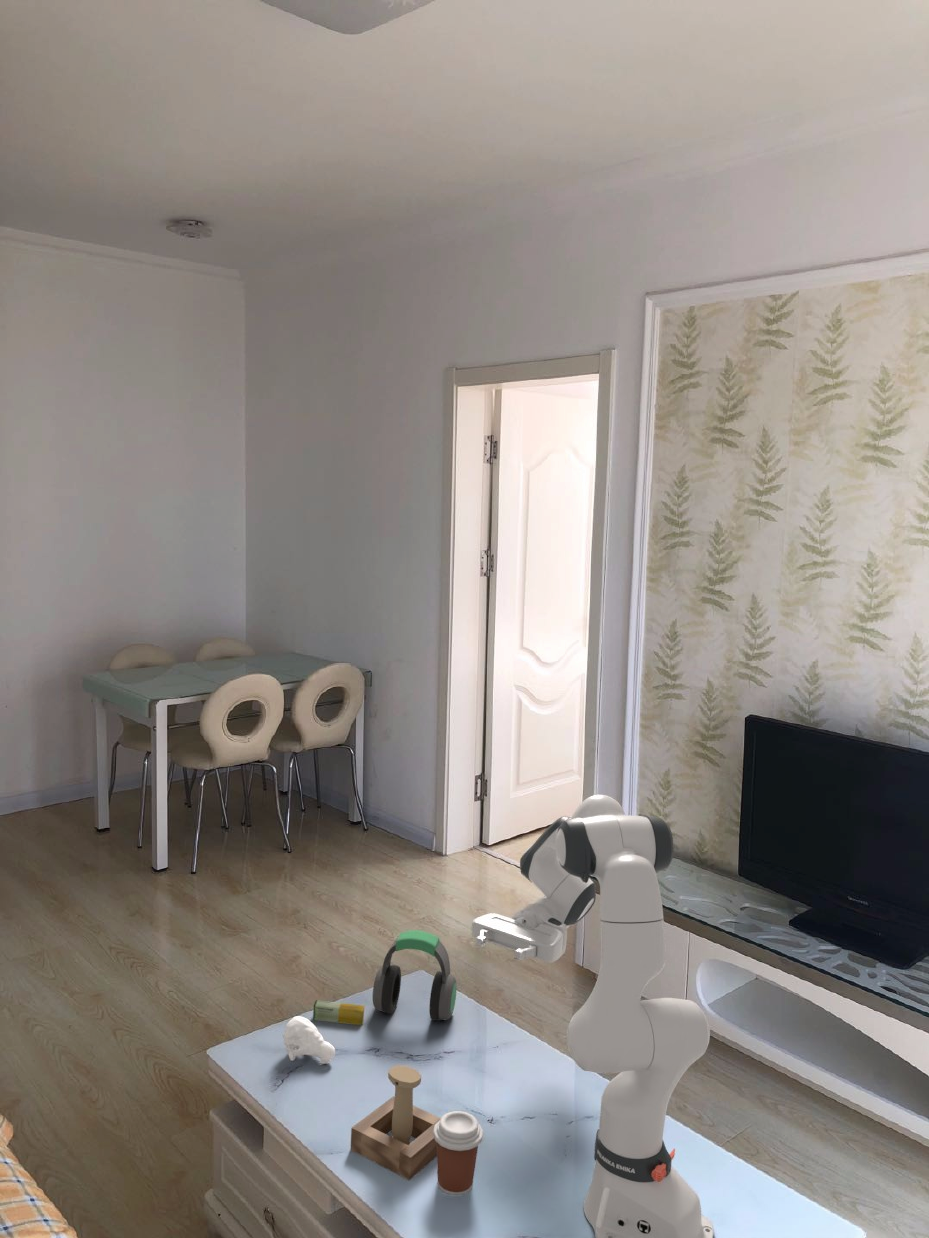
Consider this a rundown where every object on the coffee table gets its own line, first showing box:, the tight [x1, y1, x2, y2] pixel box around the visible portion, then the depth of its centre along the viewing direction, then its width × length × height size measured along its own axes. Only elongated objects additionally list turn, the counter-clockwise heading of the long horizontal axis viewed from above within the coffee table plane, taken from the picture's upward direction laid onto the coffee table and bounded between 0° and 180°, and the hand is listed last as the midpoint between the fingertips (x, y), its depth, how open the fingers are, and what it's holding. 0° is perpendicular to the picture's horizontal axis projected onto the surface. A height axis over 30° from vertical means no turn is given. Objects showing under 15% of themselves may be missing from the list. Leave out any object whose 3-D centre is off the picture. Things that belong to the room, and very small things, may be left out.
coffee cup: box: [433, 1110, 484, 1197], centre depth 184 cm, size 9×9×12 cm
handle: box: [387, 1064, 422, 1145], centre depth 193 cm, size 5×6×15 cm
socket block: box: [349, 1095, 441, 1181], centre depth 194 cm, size 14×13×4 cm
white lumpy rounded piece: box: [282, 1015, 336, 1066], centre depth 222 cm, size 6×8×12 cm
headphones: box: [372, 929, 458, 1021], centre depth 243 cm, size 19×11×20 cm, turn 80°
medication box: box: [312, 999, 366, 1026], centre depth 239 cm, size 12×3×4 cm, turn 84°
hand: (497, 949), depth 209 cm, fingers open, 8 cm apart
